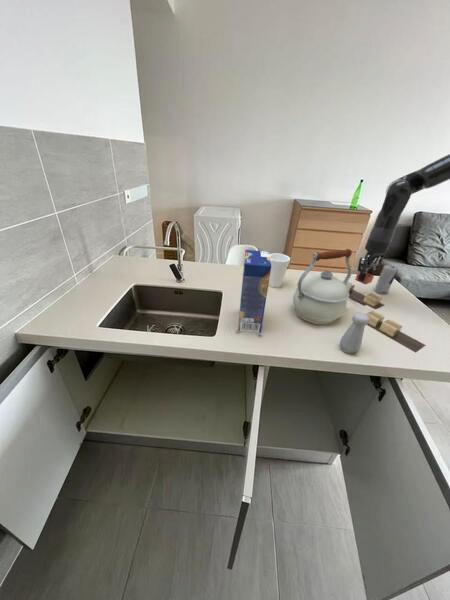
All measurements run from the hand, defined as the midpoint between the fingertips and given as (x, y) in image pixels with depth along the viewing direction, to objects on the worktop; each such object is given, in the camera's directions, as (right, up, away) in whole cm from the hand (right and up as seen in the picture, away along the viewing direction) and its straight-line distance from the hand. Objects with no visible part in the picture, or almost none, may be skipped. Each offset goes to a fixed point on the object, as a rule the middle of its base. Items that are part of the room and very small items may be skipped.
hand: (364, 279), depth 99 cm
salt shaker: (-19, -24, -24) cm, 39 cm away
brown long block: (0, -7, +5) cm, 9 cm away
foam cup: (-34, -1, +12) cm, 36 cm away
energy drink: (+13, -5, +10) cm, 18 cm away
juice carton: (-48, -16, -14) cm, 53 cm away
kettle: (-22, -14, -7) cm, 26 cm away
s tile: (0, -1, 0) cm, 1 cm away
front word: (-1, -20, -16) cm, 25 cm away
